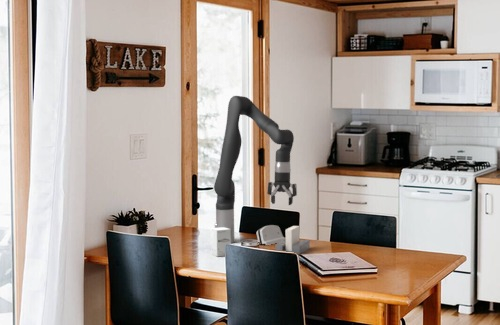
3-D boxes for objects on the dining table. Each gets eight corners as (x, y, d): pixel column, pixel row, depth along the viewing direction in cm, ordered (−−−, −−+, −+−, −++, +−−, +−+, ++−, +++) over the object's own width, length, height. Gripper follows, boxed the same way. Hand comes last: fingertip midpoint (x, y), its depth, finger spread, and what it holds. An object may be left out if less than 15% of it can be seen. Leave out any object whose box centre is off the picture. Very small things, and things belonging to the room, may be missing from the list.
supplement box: (217, 257, 372) (216, 230, 371) (210, 254, 378) (209, 228, 377) (231, 255, 375) (230, 228, 374) (224, 252, 382) (223, 226, 381)
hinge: (266, 246, 397) (260, 226, 399) (259, 248, 400) (253, 229, 402) (286, 241, 410) (281, 222, 412) (279, 243, 413) (274, 224, 415)
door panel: (291, 250, 378) (291, 230, 378) (284, 250, 380) (284, 229, 379) (299, 246, 390) (299, 226, 389) (292, 246, 391) (292, 225, 390)
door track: (299, 254, 375) (299, 246, 374) (275, 252, 379) (275, 244, 379) (309, 248, 390) (309, 240, 389) (286, 246, 394) (286, 238, 394)
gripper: (265, 170, 385) (265, 204, 387) (293, 172, 380) (292, 206, 381) (271, 169, 392) (270, 202, 394) (299, 171, 387) (298, 204, 388)
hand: (281, 204), depth 387 cm, fingers open, 8 cm apart
